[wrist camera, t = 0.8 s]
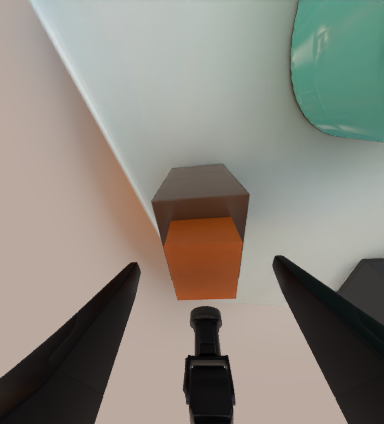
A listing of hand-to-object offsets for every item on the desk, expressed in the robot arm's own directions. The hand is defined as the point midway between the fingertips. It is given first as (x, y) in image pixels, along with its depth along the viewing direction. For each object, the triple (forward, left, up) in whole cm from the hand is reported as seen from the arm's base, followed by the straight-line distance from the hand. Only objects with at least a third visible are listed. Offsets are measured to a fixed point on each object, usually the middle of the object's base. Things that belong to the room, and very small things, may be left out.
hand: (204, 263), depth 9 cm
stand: (0, 0, -11) cm, 11 cm away
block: (0, 0, -2) cm, 2 cm away
